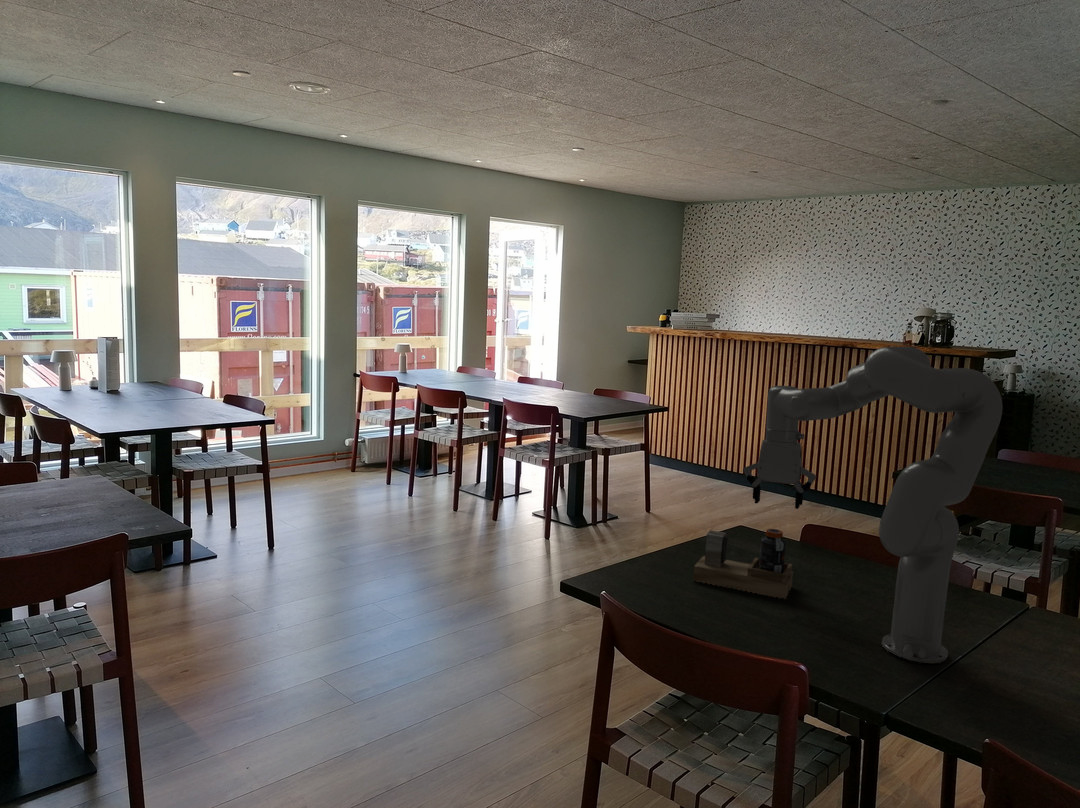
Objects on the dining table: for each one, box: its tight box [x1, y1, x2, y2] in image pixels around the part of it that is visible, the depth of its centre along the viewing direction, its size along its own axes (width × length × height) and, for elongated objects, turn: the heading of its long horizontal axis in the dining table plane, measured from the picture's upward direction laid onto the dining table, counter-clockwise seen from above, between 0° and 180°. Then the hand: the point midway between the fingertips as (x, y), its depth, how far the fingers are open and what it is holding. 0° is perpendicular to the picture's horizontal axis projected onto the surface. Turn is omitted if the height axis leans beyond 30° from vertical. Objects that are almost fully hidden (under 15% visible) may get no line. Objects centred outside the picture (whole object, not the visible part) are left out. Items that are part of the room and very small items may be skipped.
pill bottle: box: [759, 528, 787, 574], centre depth 195 cm, size 6×6×11 cm
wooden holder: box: [692, 529, 794, 600], centre depth 199 cm, size 10×23×12 cm, turn 64°
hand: (777, 504), depth 193 cm, fingers open, 9 cm apart
